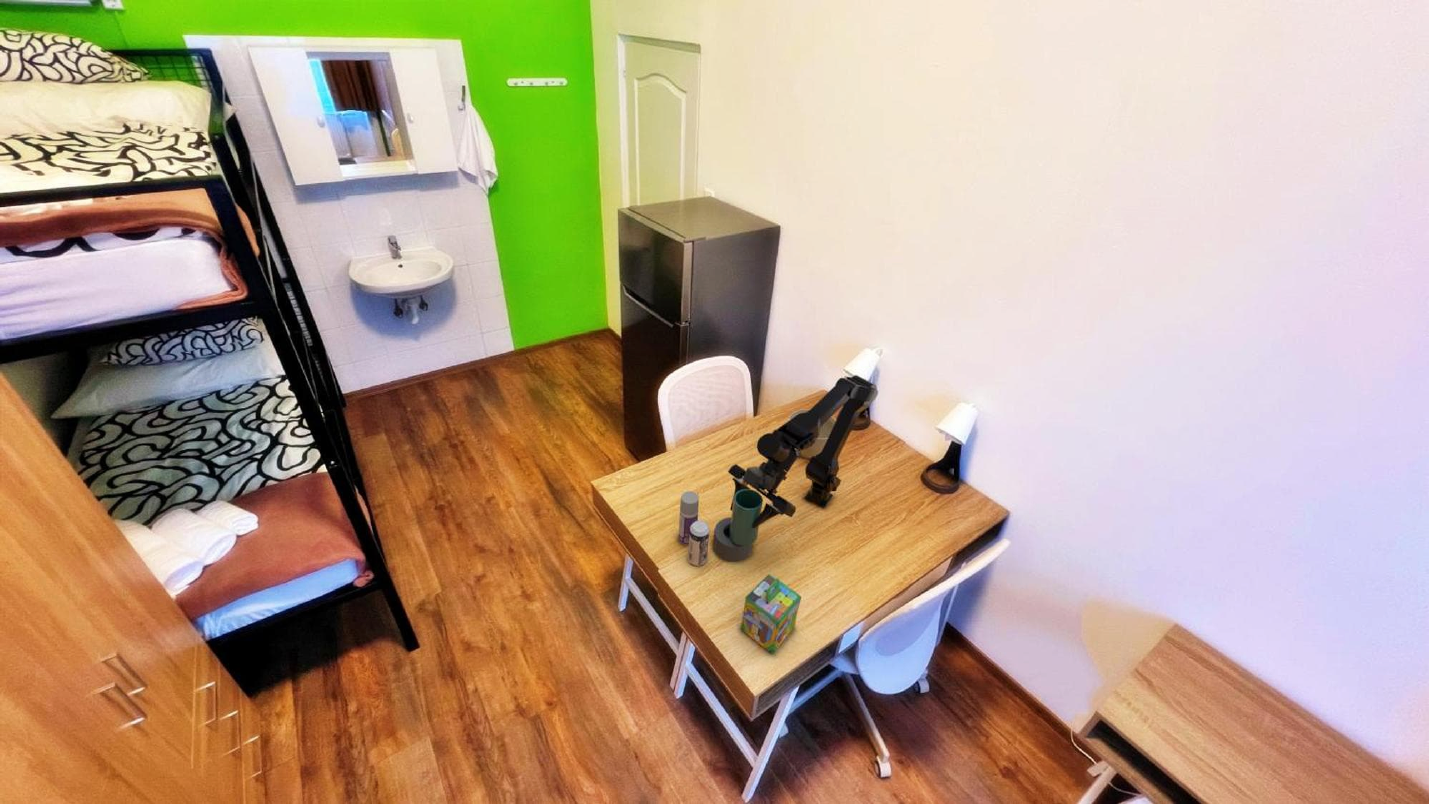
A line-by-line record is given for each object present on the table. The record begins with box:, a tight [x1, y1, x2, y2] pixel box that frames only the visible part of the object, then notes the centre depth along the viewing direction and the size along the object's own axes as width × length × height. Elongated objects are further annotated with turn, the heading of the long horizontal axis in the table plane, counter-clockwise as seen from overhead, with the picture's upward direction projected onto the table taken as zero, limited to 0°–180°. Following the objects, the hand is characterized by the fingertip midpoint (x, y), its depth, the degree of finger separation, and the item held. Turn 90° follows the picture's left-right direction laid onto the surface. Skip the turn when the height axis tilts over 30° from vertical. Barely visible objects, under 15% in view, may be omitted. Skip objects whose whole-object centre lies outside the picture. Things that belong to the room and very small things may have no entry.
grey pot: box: [712, 516, 754, 563], centre depth 144 cm, size 10×10×6 cm
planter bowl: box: [787, 408, 837, 459], centre depth 179 cm, size 16×16×11 cm
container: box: [677, 490, 700, 547], centre depth 142 cm, size 5×5×15 cm
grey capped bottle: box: [687, 519, 711, 567], centre depth 138 cm, size 5×5×12 cm
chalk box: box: [740, 573, 802, 655], centre depth 122 cm, size 9×9×15 cm
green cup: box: [729, 488, 764, 546], centre depth 136 cm, size 7×7×12 cm
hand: (741, 519), depth 135 cm, fingers closed on green cup, 7 cm apart
